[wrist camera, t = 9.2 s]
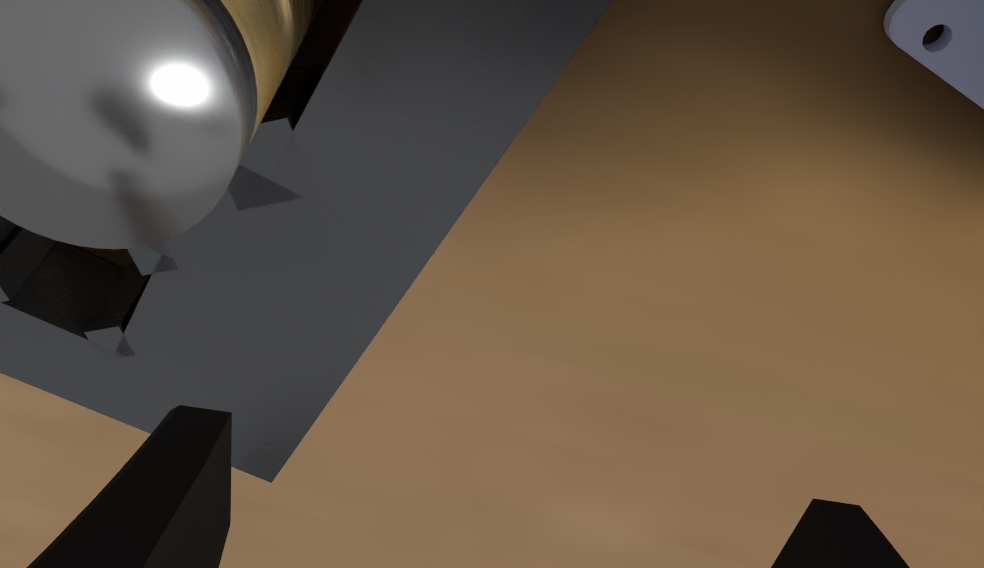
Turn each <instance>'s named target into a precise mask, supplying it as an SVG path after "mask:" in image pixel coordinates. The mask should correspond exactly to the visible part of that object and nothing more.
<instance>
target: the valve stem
mask: <svg viewBox="0 0 984 568" xmlns="http://www.w3.org/2000/svg"><path fill="white" fill-rule="evenodd" d="M322 1H323V0H0V216H2V217H4V218H5V219H7V220H9V221H11V222H12V223H14V224H16V225H18V226H20V227H23V228H25V229H27V230H29V231H31V232H34V233H36V234H39V235H42V236H45V237H47V238H50V239H53V240H56V241H60V242H64V243H68V244H72V245H77V246H83V247H90V248H99V249H126V248H137V247H142V246H147V245H153V244H156V243H159V242H162V241H165V240H168V239H171V238H173V237H175V236H177V235H179V234H181V233H183V232H185V231H187V230H188V229H190V228H191V227H193V226H194V225H196V224H197V223H199V222H200V221H201V220H202V219H203V218H204V217H205V216H206V215H207V214H208V213H209V212H211V211H212V210H213V208H214V207H215V206H216V204H217V203H218V202H219V200H220V199H221V198H222V196H223V194H224V193H225V191H226V189H227V187H228V185H229V183H230V181H231V179H232V177H233V175H234V173H235V171H236V169H237V167H238V165H239V164H240V162H241V160H242V158H243V156H244V154H245V152H246V150H247V148H248V146H249V144H250V142H251V140H252V138H253V136H254V134H255V132H256V130H257V128H258V126H259V125H260V123H261V121H262V119H263V117H264V115H265V113H266V111H267V109H268V107H269V105H270V103H271V101H272V99H273V97H274V95H275V93H276V91H277V89H278V87H279V85H280V84H281V82H282V80H283V78H284V76H285V74H286V72H287V70H288V68H289V66H290V64H291V62H292V60H293V58H294V56H295V54H296V52H297V50H298V48H299V46H300V45H301V43H302V41H303V39H304V37H305V35H306V33H307V31H308V29H309V27H310V25H311V23H312V21H313V19H314V17H315V15H316V13H317V11H318V9H319V7H320V6H321V4H322Z"/></svg>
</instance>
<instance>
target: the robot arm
mask: <svg viewBox="0 0 984 568" xmlns="http://www.w3.org/2000/svg"><path fill="white" fill-rule="evenodd" d="M883 24H884V29H885V33H886V34H887V36H888V37H889V38H890V39H891V40H892V41H893V42H894V43H895V44H896V45H897V46H898V47H899V48H901V49H902V50H903V51H905V52H906V53H907V54H909V55H910V56H912V57H913V58H914V59H916V60H917V61H918V62H920V63H921V64H923V65H924V66H925V67H927V68H928V69H929V70H931V71H932V72H933V73H935V74H936V75H938V76H939V77H940V78H942V79H943V80H944V81H946V82H947V83H949V84H950V85H951V86H953V87H954V88H955V89H957V90H958V91H960V92H961V93H962V94H964V95H965V96H966V97H968V98H969V99H970V100H972V101H973V102H975V103H976V104H977V105H979V106H980V107H981V108H983V109H984V0H895V1H894V2H893V3H892V5H891V6H890V8H889V9H888V11H887V12H886V15H885V19H884V23H883ZM940 24H943V25H944V30H943V33H942V35H941V36H940V38H939V39H938V40H936V41H935V42H933V43H931V44H926V45H924V44H922V43H923V37H924V35H925V33H926V32H927V31H928V30H929V29H930V28H932V27H933V26H935V25H940ZM231 442H232V412H225V411H218V410H211V409H204V408H198V407H191V406H184V405H179V406H177V407H175V408H173V409H172V410H170V411H169V412H168V414H167V415H166V416H165V417H164V419H163V420H162V421H161V422H160V424H159V425H158V426H157V427H156V429H155V430H154V431H153V432H152V434H151V435H150V436H149V437H148V438H147V440H146V441H145V442H144V443H143V444H142V446H141V447H140V448H139V449H138V450H137V451H136V453H135V454H134V455H133V456H132V457H131V458H130V459H129V461H128V462H127V463H126V464H125V465H124V466H123V467H122V469H121V470H120V471H119V472H118V473H117V474H116V475H115V476H114V477H113V479H112V480H111V481H110V482H109V483H108V484H107V485H106V486H105V487H104V488H103V490H102V491H101V492H100V493H99V494H98V495H97V496H96V497H95V498H94V499H93V500H92V501H91V503H90V504H89V505H88V506H87V507H86V508H85V509H84V510H83V511H82V512H81V513H80V514H79V515H78V516H77V517H76V518H75V519H74V520H73V521H72V522H71V523H70V524H69V525H68V526H67V527H66V528H65V530H64V531H63V532H62V533H61V534H60V535H59V536H58V537H57V538H56V539H55V540H54V541H53V542H52V543H51V544H50V545H49V546H48V547H47V548H46V549H45V550H44V551H43V552H42V553H41V554H40V555H39V556H38V557H37V558H36V559H35V560H34V561H33V562H32V563H31V564H30V565H29V566H28V567H27V568H218V567H219V564H220V560H221V556H222V553H223V549H224V545H225V542H226V538H227V534H228V530H229V527H230V512H231ZM771 568H909V566H908V565H907V564H906V562H905V561H904V560H903V559H902V557H901V556H900V555H899V554H898V552H897V551H896V550H895V549H894V547H893V546H892V545H891V543H890V542H889V541H888V540H887V538H886V537H885V536H884V535H883V533H882V532H881V531H880V530H879V528H878V527H877V526H876V525H875V524H874V522H873V521H872V520H871V519H870V517H869V516H868V515H867V514H866V513H865V512H864V510H863V509H862V508H861V507H860V506H859V505H853V504H846V503H840V502H833V501H826V500H819V499H813V500H812V501H811V503H810V505H809V506H808V508H807V510H806V511H805V513H804V514H803V516H802V518H801V519H800V521H799V523H798V524H797V526H796V528H795V529H794V531H793V533H792V534H791V536H790V537H789V539H788V541H787V542H786V544H785V546H784V547H783V549H782V551H781V552H780V554H779V556H778V557H777V559H776V560H775V562H774V564H773V565H772V567H771Z"/></svg>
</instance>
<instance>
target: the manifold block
mask: <svg viewBox="0 0 984 568" xmlns="http://www.w3.org/2000/svg"><path fill="white" fill-rule="evenodd" d="M611 1H612V0H360V1H359V3H358V5H357V7H356V8H355V10H354V12H353V14H352V16H351V18H350V20H349V22H348V23H347V25H346V27H345V29H344V31H343V33H342V35H341V37H340V39H339V40H338V42H337V44H336V46H335V48H334V50H333V52H332V54H331V55H330V57H329V59H328V61H327V63H326V65H325V67H324V69H323V71H322V72H321V74H320V76H319V75H318V73H317V70H316V67H315V64H312V65H308V66H303V67H299V68H294V69H290V70H287V72H286V74H285V76H284V78H283V80H282V82H281V84H280V85H279V87H278V89H277V91H276V93H275V95H274V97H273V99H272V101H271V103H270V105H269V107H268V109H267V111H266V113H265V115H264V117H263V119H262V121H261V123H260V125H259V126H258V128H257V130H256V132H255V134H254V136H253V138H252V140H251V142H250V144H249V146H248V148H247V150H246V152H245V154H244V156H243V158H242V160H241V162H240V164H239V165H238V167H237V169H236V171H235V173H234V175H233V177H232V179H231V181H230V183H229V185H228V187H227V189H226V191H225V193H224V194H223V196H222V198H221V199H220V200H219V202H218V203H217V204H216V206H215V207H214V208H213V210H212V211H211V212H209V213H208V214H207V215H206V216H205V217H204V218H203V219H202V220H201V221H200V222H199V223H197V224H196V225H194V226H193V227H191V228H190V229H188V230H187V231H185V232H183V233H181V234H179V235H177V236H175V237H173V238H171V239H168V240H165V241H162V242H159V243H156V244H153V245H147V246H142V247H137V248H127V250H128V252H129V253H130V255H131V257H132V259H133V260H134V262H135V264H132V265H127V267H126V268H125V270H124V269H122V268H120V267H118V266H116V265H113V264H111V263H109V262H107V261H105V260H102V259H100V258H98V257H96V256H94V255H92V254H89V253H87V252H85V251H83V250H81V249H79V248H76V247H74V246H72V245H70V244H68V243H64V242H60V241H56V240H53V239H50V238H47V237H45V236H42V235H39V234H36V233H34V232H31V231H29V230H27V229H25V228H23V227H20V226H18V225H16V224H14V223H12V222H11V221H9V220H7V219H5V218H4V217H2V216H0V373H2V374H5V375H7V376H10V377H12V378H15V379H17V380H20V381H22V382H25V383H27V384H29V385H32V386H34V387H37V388H39V389H42V390H44V391H47V392H49V393H52V394H54V395H57V396H59V397H62V398H64V399H66V400H69V401H71V402H74V403H76V404H79V405H81V406H84V407H86V408H89V409H91V410H94V411H96V412H98V413H101V414H103V415H106V416H108V417H111V418H113V419H116V420H118V421H121V422H123V423H126V424H128V425H130V426H133V427H135V428H138V429H140V430H143V431H145V432H148V433H150V434H152V432H153V431H154V430H155V429H156V427H157V426H158V425H159V424H160V422H161V421H162V420H163V419H164V417H165V416H166V415H167V414H168V412H169V411H170V410H172V409H173V408H175V407H177V406H179V405H184V406H191V407H198V408H204V409H211V410H218V411H225V412H232V442H231V467H234V468H236V469H239V470H241V471H244V472H246V473H249V474H251V475H254V476H256V477H259V478H261V479H264V480H266V481H268V482H271V483H272V481H273V480H274V478H275V477H276V475H277V474H278V473H279V471H280V470H281V468H282V467H283V466H284V464H285V463H286V461H287V460H288V458H289V457H290V456H291V454H292V453H293V451H294V450H295V449H296V447H297V446H298V444H299V443H300V442H301V440H302V439H303V437H304V436H305V434H306V433H307V432H308V430H309V429H310V427H311V426H312V425H313V423H314V422H315V420H316V419H317V417H318V416H319V415H320V413H321V412H322V410H323V409H324V408H325V406H326V405H327V403H328V402H329V400H330V399H331V398H332V396H333V395H334V393H335V392H336V391H337V389H338V388H339V386H340V385H341V383H342V382H343V381H344V379H345V378H346V376H347V375H348V374H349V372H350V371H351V369H352V368H353V366H354V365H355V364H356V362H357V361H358V359H359V358H360V357H361V355H362V354H363V352H364V351H365V349H366V348H367V347H368V345H369V344H370V342H371V341H372V340H373V338H374V337H375V335H376V334H377V332H378V331H379V330H380V328H381V327H382V325H383V324H384V323H385V321H386V320H387V318H388V317H389V315H390V314H391V313H392V311H393V310H394V308H395V307H396V306H397V304H398V303H399V301H400V300H401V298H402V297H403V296H404V294H405V293H406V291H407V290H408V289H409V287H410V286H411V284H412V283H413V282H414V280H415V279H416V277H417V276H418V274H419V273H420V272H421V270H422V269H423V267H424V266H425V265H426V263H427V262H428V260H429V259H430V257H431V256H432V255H433V253H434V252H435V250H436V249H437V248H438V246H439V245H440V243H441V242H442V240H443V239H444V238H445V236H446V235H447V233H448V232H449V231H450V229H451V228H452V226H453V225H454V223H455V222H456V221H457V219H458V218H459V216H460V215H461V214H462V212H463V211H464V209H465V208H466V206H467V205H468V204H469V202H470V201H471V199H472V198H473V197H474V195H475V194H476V192H477V191H478V189H479V188H480V187H481V185H482V184H483V182H484V181H485V180H486V178H487V177H488V175H489V174H490V172H491V171H492V170H493V168H494V167H495V165H496V164H497V163H498V161H499V160H500V158H501V157H502V155H503V154H504V153H505V151H506V150H507V148H508V147H509V146H510V144H511V143H512V141H513V140H514V138H515V137H516V136H517V134H518V133H519V131H520V130H521V129H522V127H523V126H524V124H525V123H526V121H527V120H528V119H529V117H530V116H531V114H532V113H533V112H534V110H535V109H536V107H537V106H538V105H539V103H540V102H541V100H542V99H543V97H544V96H545V95H546V93H547V92H548V90H549V89H550V88H551V86H552V85H553V83H554V82H555V80H556V79H557V78H558V76H559V75H560V73H561V72H562V71H563V69H564V68H565V66H566V65H567V63H568V62H569V61H570V59H571V58H572V56H573V55H574V54H575V52H576V51H577V49H578V48H579V46H580V45H581V44H582V42H583V41H584V39H585V38H586V37H587V35H588V34H589V32H590V31H591V29H592V28H593V27H594V25H595V24H596V22H597V21H598V20H599V18H600V17H601V15H602V14H603V12H604V11H605V10H606V8H607V7H608V5H609V4H610V3H611Z"/></svg>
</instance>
